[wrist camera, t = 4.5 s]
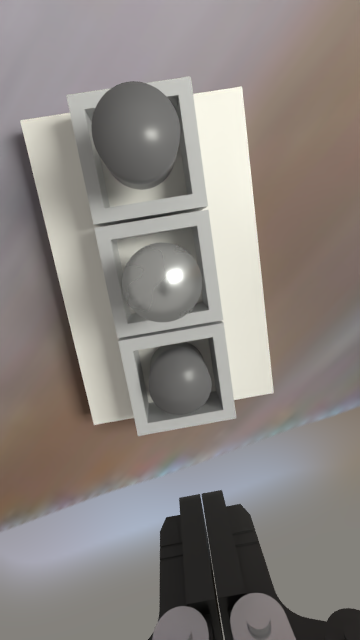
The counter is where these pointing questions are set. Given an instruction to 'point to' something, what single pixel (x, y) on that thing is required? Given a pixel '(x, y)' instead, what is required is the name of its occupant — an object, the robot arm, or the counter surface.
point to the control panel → (147, 228)
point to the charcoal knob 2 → (179, 379)
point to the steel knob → (162, 282)
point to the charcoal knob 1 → (136, 134)
